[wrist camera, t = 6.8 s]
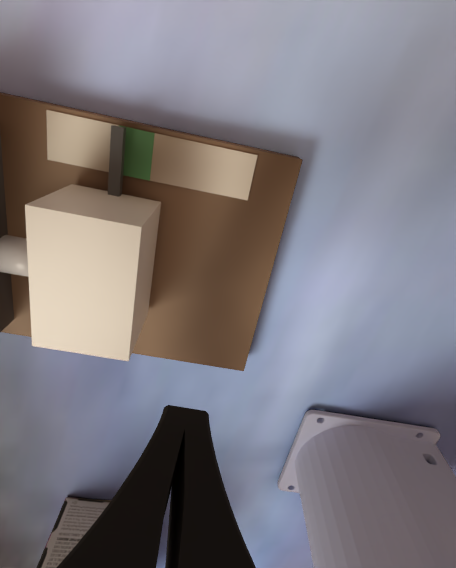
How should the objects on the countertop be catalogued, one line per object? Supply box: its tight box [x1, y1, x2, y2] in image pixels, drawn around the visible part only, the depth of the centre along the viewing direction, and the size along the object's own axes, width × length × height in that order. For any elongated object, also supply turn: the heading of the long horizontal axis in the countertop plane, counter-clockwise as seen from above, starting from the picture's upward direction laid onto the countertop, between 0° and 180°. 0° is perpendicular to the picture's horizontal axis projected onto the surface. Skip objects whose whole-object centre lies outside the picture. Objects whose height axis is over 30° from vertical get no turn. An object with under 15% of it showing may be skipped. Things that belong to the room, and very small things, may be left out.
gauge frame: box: [0, 92, 302, 371], centre depth 16 cm, size 16×12×6 cm
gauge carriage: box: [0, 125, 161, 361], centre depth 15 cm, size 6×9×4 cm
